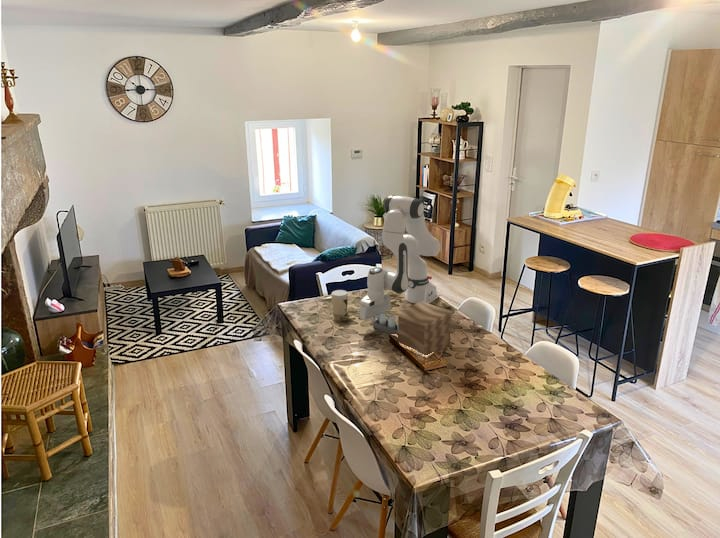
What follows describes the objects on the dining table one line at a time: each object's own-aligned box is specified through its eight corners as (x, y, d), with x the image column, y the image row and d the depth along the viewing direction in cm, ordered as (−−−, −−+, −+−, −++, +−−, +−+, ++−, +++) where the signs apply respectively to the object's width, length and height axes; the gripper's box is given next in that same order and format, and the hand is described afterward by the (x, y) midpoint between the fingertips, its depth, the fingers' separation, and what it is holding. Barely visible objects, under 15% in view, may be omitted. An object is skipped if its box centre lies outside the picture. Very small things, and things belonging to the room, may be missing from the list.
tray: (382, 323, 295) (382, 310, 292) (410, 335, 281) (410, 321, 278) (373, 327, 290) (373, 313, 288) (401, 339, 277) (401, 325, 274)
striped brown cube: (421, 333, 283) (421, 301, 277) (450, 345, 270) (452, 312, 264) (395, 345, 271) (396, 312, 265) (425, 358, 258) (426, 324, 252)
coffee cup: (348, 315, 305) (347, 296, 300) (331, 316, 305) (330, 296, 301) (348, 309, 313) (348, 289, 309) (332, 309, 314) (331, 289, 310)
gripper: (385, 291, 297) (385, 314, 302) (357, 301, 284) (358, 326, 289) (393, 294, 293) (393, 318, 297) (366, 305, 280) (366, 329, 284)
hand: (375, 322), depth 293 cm, fingers closed
